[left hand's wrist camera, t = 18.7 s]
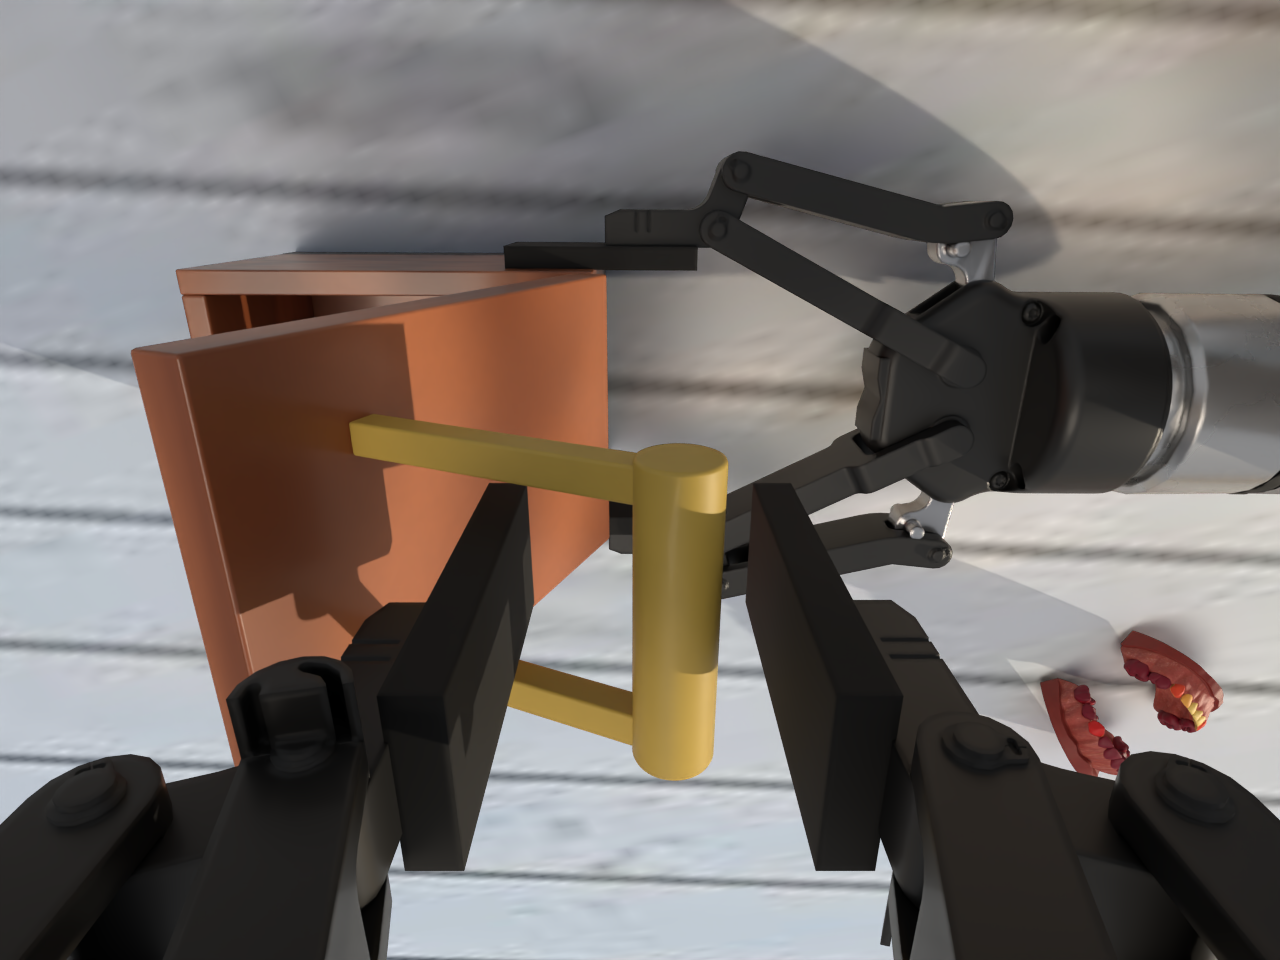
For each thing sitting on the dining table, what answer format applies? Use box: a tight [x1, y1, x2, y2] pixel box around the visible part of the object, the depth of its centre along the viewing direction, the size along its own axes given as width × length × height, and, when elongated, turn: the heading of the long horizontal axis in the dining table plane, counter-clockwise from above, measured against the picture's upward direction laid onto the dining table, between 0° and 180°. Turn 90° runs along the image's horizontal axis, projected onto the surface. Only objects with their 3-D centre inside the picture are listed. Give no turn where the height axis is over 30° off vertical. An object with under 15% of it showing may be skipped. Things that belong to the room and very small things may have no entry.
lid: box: [131, 273, 728, 780], centre depth 17 cm, size 14×9×8 cm
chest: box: [176, 252, 605, 338], centre depth 29 cm, size 14×9×9 cm
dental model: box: [1040, 631, 1223, 777], centre depth 38 cm, size 6×4×8 cm
